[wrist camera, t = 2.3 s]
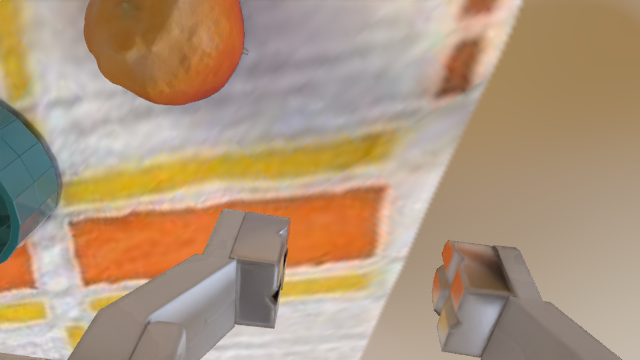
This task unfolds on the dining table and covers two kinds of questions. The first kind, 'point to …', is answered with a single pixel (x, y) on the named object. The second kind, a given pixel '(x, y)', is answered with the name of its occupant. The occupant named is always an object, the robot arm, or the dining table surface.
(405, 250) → the dining table surface
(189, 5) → the fruit
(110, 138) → the dining table surface
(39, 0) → the dining table surface
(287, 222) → the robot arm
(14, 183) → the bowl
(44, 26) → the dining table surface
